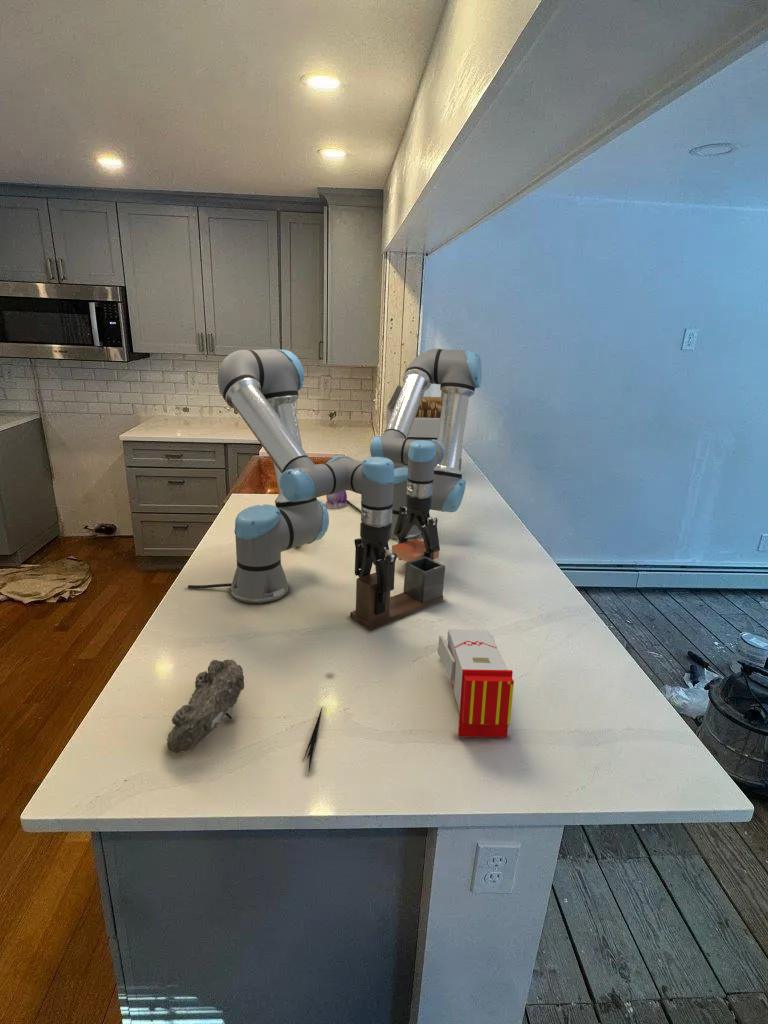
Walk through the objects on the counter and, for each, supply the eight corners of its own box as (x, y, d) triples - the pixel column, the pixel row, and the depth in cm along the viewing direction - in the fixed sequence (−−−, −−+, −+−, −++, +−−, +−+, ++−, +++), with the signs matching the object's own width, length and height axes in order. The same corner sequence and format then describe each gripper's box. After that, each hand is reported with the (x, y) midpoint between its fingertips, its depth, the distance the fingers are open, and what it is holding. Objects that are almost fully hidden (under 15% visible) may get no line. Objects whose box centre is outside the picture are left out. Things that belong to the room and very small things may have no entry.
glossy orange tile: (391, 558, 171) (392, 545, 170) (415, 550, 177) (416, 538, 176) (414, 570, 164) (415, 557, 162) (438, 561, 170) (439, 548, 169)
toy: (488, 613, 130) (523, 677, 101) (484, 667, 133) (517, 744, 104) (435, 612, 130) (455, 676, 101) (432, 666, 133) (451, 743, 103)
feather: (331, 679, 122) (336, 673, 122) (307, 777, 96) (313, 769, 95) (324, 675, 122) (329, 669, 121) (298, 772, 95) (304, 764, 95)
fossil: (192, 660, 117) (244, 628, 112) (224, 691, 120) (276, 661, 115) (142, 746, 98) (202, 712, 93) (182, 779, 101) (242, 748, 96)
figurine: (329, 510, 219) (330, 473, 214) (320, 502, 228) (320, 466, 222) (352, 507, 223) (353, 470, 218) (341, 499, 232) (342, 464, 227)
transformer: (382, 463, 289) (386, 382, 275) (445, 464, 293) (451, 384, 279) (390, 482, 257) (394, 392, 243) (460, 483, 261) (468, 394, 247)
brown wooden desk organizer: (350, 617, 145) (351, 576, 141) (422, 589, 161) (425, 552, 157) (369, 630, 139) (371, 589, 135) (443, 600, 155) (446, 562, 152)
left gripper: (341, 514, 140) (339, 598, 147) (389, 537, 127) (384, 628, 135) (364, 508, 144) (362, 590, 152) (413, 530, 131) (407, 618, 139)
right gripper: (383, 487, 169) (380, 555, 177) (438, 508, 153) (432, 582, 161) (402, 483, 174) (398, 549, 181) (457, 503, 158) (450, 575, 165)
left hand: (372, 607), depth 143 cm, fingers closed on brown wooden desk organizer, 5 cm apart
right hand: (414, 564), depth 171 cm, fingers closed on glossy orange tile, 10 cm apart
